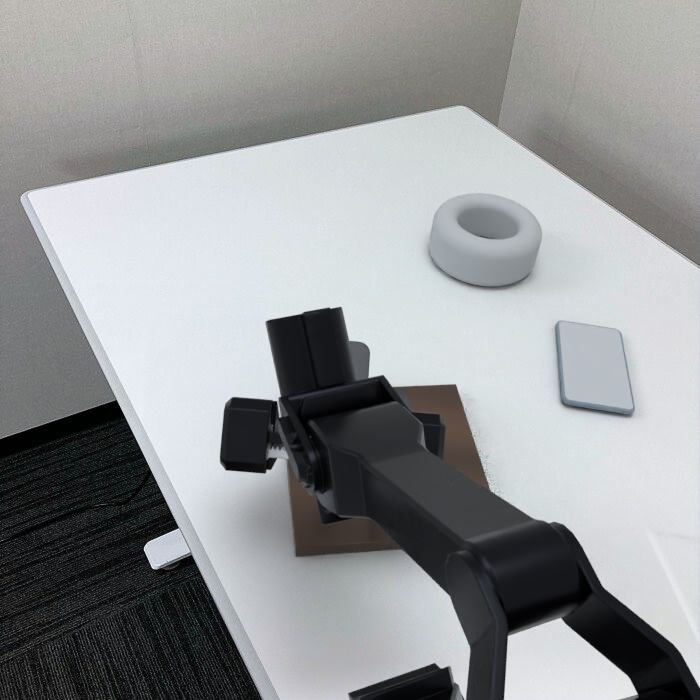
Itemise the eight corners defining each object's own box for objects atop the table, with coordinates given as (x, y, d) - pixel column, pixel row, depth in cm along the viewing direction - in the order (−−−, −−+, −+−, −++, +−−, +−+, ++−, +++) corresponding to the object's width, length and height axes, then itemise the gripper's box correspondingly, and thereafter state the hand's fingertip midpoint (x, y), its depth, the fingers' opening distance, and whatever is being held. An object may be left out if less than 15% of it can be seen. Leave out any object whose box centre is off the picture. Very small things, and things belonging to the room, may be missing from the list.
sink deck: (501, 541, 75) (504, 532, 74) (295, 557, 72) (295, 547, 71) (453, 392, 89) (456, 383, 88) (280, 400, 86) (280, 390, 85)
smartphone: (621, 328, 99) (636, 412, 88) (619, 334, 100) (634, 417, 88) (556, 318, 99) (562, 400, 88) (554, 324, 100) (560, 406, 89)
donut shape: (524, 301, 103) (536, 261, 98) (415, 273, 106) (422, 233, 101) (540, 242, 114) (551, 203, 109) (441, 218, 116) (448, 179, 112)
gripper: (463, 352, 59) (436, 359, 75) (219, 332, 59) (243, 343, 75) (452, 498, 59) (427, 475, 74) (206, 479, 58) (233, 459, 74)
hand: (333, 435), depth 74 cm, fingers open, 9 cm apart
